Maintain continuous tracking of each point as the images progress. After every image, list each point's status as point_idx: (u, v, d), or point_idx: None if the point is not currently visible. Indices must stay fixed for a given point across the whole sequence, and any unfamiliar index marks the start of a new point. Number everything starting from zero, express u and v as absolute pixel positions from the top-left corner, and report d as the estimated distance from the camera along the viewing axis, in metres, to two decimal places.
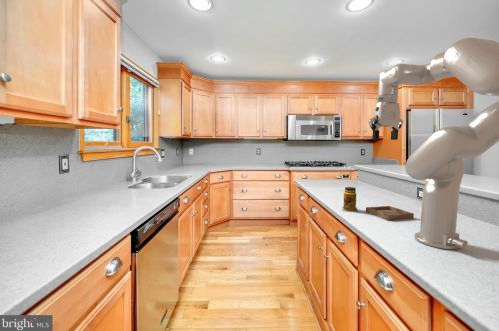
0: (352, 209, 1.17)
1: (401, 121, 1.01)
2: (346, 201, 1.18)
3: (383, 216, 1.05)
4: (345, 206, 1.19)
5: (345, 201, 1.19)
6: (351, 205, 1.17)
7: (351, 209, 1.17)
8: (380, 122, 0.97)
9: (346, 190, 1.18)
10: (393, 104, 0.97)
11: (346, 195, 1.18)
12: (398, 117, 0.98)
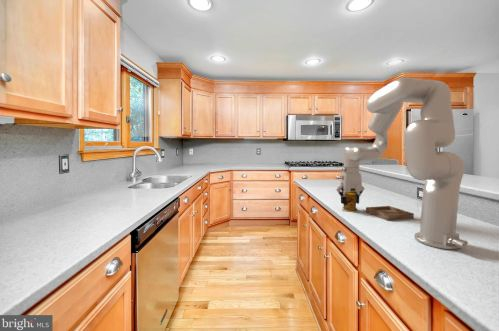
0: (352, 209, 1.17)
1: (362, 188, 1.21)
2: (346, 201, 1.18)
3: (383, 216, 1.05)
4: (345, 206, 1.19)
5: None
6: (351, 205, 1.17)
7: (351, 209, 1.17)
8: (345, 190, 1.17)
9: None
10: (355, 175, 1.17)
11: (346, 195, 1.18)
12: (360, 185, 1.18)
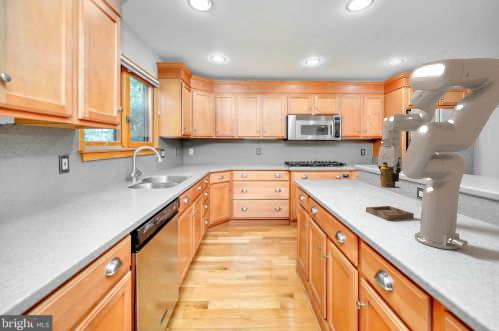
0: (382, 184, 1.09)
1: (401, 165, 1.02)
2: None
3: (383, 216, 1.05)
4: None
5: None
6: (381, 180, 1.10)
7: (381, 184, 1.10)
8: None
9: None
10: (387, 147, 1.07)
11: None
12: (392, 159, 1.04)
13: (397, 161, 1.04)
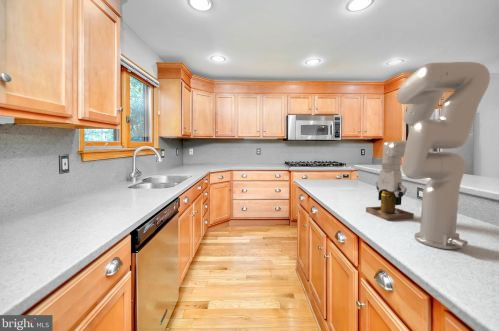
0: (382, 211, 1.10)
1: (402, 188, 1.02)
2: None
3: (383, 216, 1.05)
4: None
5: None
6: (381, 206, 1.11)
7: (381, 211, 1.11)
8: None
9: None
10: (387, 172, 1.08)
11: None
12: (391, 184, 1.05)
13: (397, 186, 1.04)
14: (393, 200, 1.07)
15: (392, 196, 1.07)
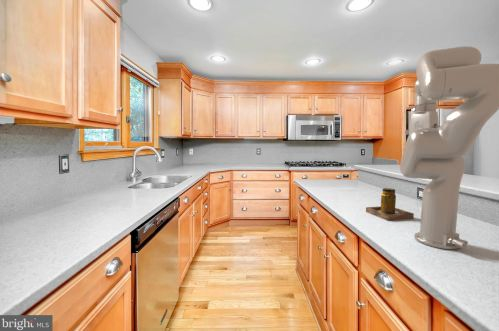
0: (382, 211, 1.10)
1: None
2: None
3: (383, 216, 1.05)
4: None
5: None
6: (381, 206, 1.11)
7: (381, 211, 1.11)
8: None
9: None
10: (421, 114, 0.97)
11: None
12: (427, 126, 0.95)
13: (433, 128, 0.94)
14: (393, 200, 1.07)
15: (392, 196, 1.07)
